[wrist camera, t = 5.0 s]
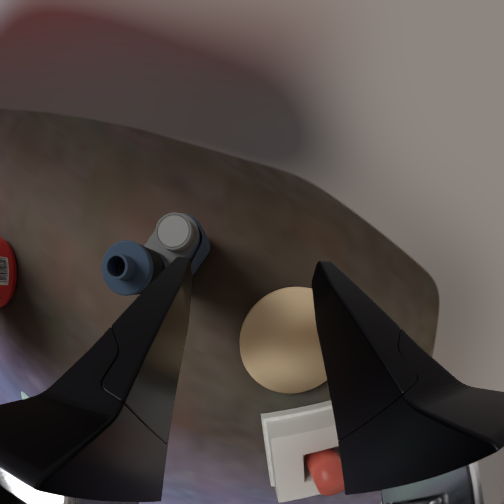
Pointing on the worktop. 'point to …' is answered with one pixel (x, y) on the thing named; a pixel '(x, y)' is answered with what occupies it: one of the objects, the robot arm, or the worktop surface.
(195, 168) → the worktop surface
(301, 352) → the coaster
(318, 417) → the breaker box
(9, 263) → the canned food
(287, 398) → the worktop surface
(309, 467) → the button
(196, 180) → the worktop surface
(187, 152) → the worktop surface
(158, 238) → the vaping device
